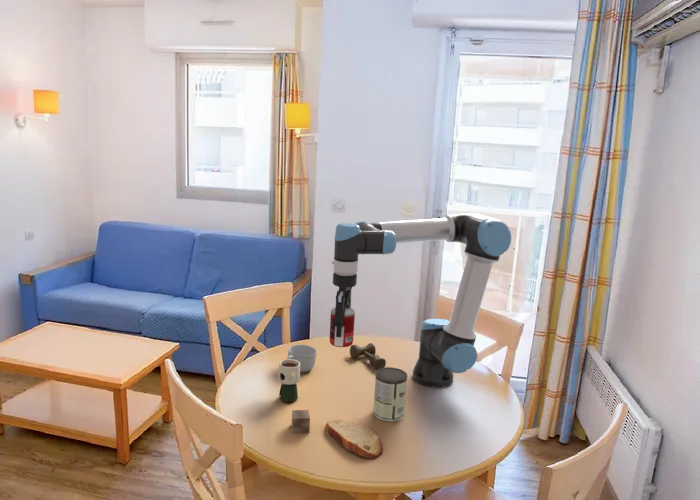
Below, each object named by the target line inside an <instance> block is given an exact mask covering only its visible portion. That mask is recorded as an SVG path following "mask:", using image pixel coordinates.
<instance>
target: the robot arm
mask: <svg viewBox="0 0 700 500" xmlns="http://www.w3.org/2000/svg"><path fill="white" fill-rule="evenodd" d="M442 240H443V241H444V240H445V241H446V242H447V243H461V244H465V249H464V254H465V256H466V261H465V265H464V267H463V272H462V276H461V280H460V283H459V286H458V290H457V293H456V297H455V301H454V304H453V308H452V312H451V314H450V318H449V320H448V319H443V318H428V319H425V320H423V321H422V323H421V326H420V327H421V328H420V340H419V349H418V350H419V351H418V352H419V353H418V359H417V360H416V362H415V365H414V367H413V370H412V375H411V376H412V380H413V381H414V382H416V383H417V384H419V385H422V386H424V387H429V388H437V389H438V388H439V389H440V388H446V387H449V386H451V385H452V384H453V382H454V374H463V373H465V372H467V371H468V370H471V369H472V368H473V367H474V365H475V363H476V362H477V360H478V352H477V349H476V347H475V343H476V339H477V335H476V334H475V332H474V331H475V330H474V329H475V326H476V323H477V319H478V316H479V312H480V308H481V306H482V302H483V298H484V295H485V291H486V288H487V284H488V282H489V278H490V275H491V270H492V268H493V265H494V264H496V263H497V262H499V260H500V258H501V257H500V256H502V255H504V253H506V252H507V251H508V250H509V247H510V246H511V242H512V234H511V230H510V228H509V226H508V225H507V224H506V223H505V222H503V221H501V220H500V219H498V218H496V217H492V216H488V215H484V214H482V213H477V212H469V213H467V212H466V213H457V214H447V215H445V216H444V217H442V218H430V219H429V218H428V219H425V218H424V219H412V220H396V221H383V222H380V221H378V222H366V221H357V222H355V223H349V222H342V223H338V224H337V225H336V227H335V233H334V252H333V253H334V254H333V261H331V264H332V265H333V273H332V285H334V286H335V287H338V290H337V291H336V295H335V307H334V308H335V319H334V324H333V326H334V327H335V341H334V347H336V346H341V347H340V348H344V347H343V338H344V325H343V324H344V315H345V309H346V308H351V309H352V288H353V287H355V286H357V283H358V282H357V281H358V274H357V273H358V269H359V268H358V267H359V266H358V265H359V255H391V254H393V253H394V252H395V251H396V248H397V244H402V243H403V244H404V243H417V242H418V243H419V242H429V241H433V242H434V241H442Z"/></svg>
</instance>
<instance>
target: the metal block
mask: <svg viewBox="0 0 700 500" xmlns="http://www.w3.org/2000/svg"><path fill="white" fill-rule="evenodd" d="M310 417H311V416H310V411H309V409H293V410H291V431H292V434H310V429H311V428H310V424H311V423H310V422H311V418H310Z"/></svg>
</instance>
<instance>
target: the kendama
mask: <svg viewBox="0 0 700 500" xmlns="http://www.w3.org/2000/svg"><path fill="white" fill-rule="evenodd" d="M349 347H350V348H349V356H350V357H351V358H350V359H352V360H353V361H357V360H358V359H359V358H360V357H361V356H365V357H366V358H367V359H368V360H369V364H370V366H374V369H375V371H377V370H378V369H381V368H386V364H387V362H386V361H387V360H386V359H385V358H383V357H382V358H381V357H380V356H379V355H377V354H376V353H377V351H376V345H375V344H374V343H373V342H370V343H368V344H367V345H365V346H359V345H357V344H352V345H350V346H349Z"/></svg>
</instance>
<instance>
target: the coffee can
mask: <svg viewBox="0 0 700 500" xmlns="http://www.w3.org/2000/svg"><path fill="white" fill-rule="evenodd" d="M374 379H375V381H374V382H375V384H374V398H373V411H372V415H374V417H375V418H377V419H378V420H381V421H383V422H397V421H401V420H402V419H403V418H404V417H405V406H406V404H405V403H406V394H407V393H406V392H407V381H408V373H407V372H406V371H404V370H403V369H401V368H397V367H389V366H387V367H386V366H385V367H384V368H381V369H378V370H375V378H374Z"/></svg>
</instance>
